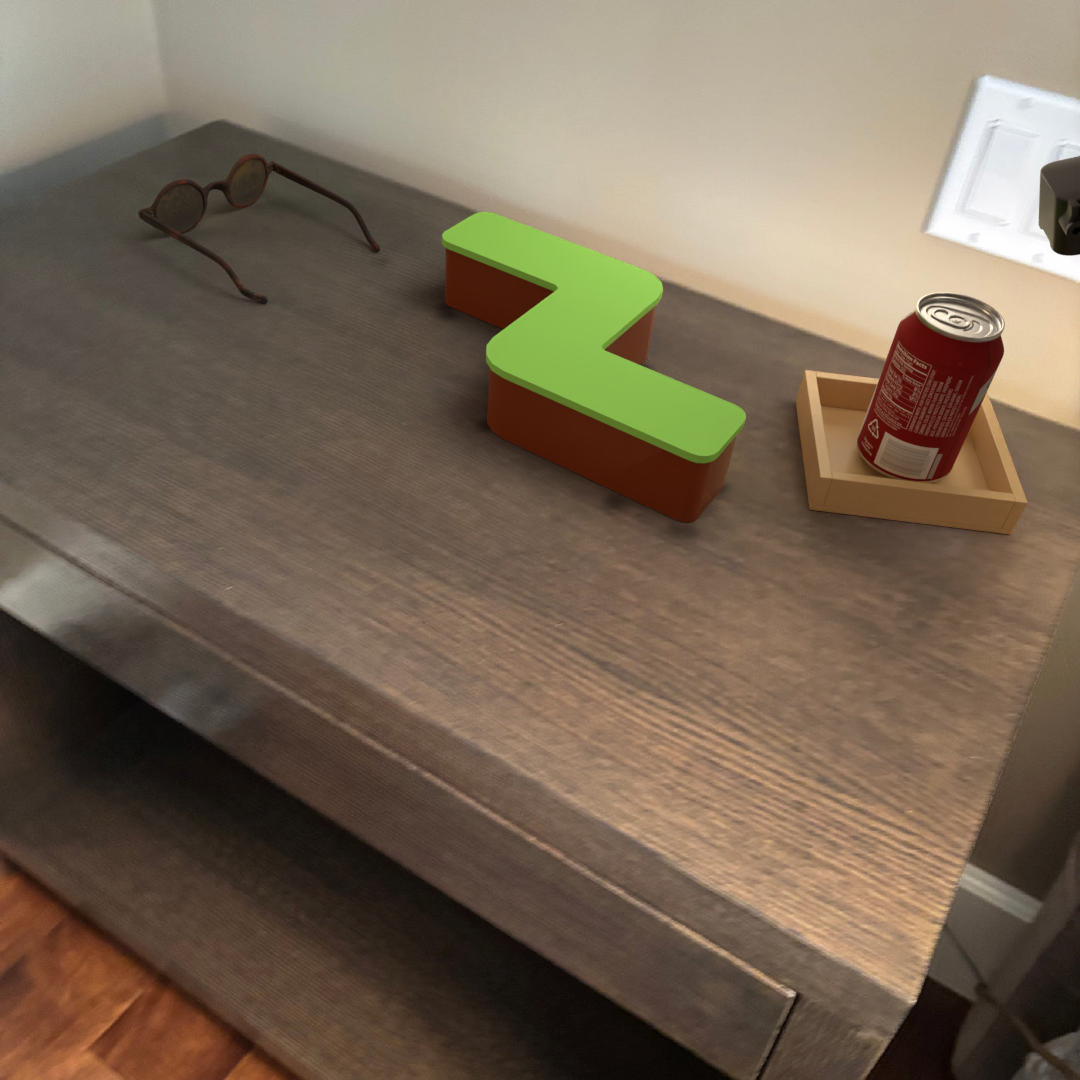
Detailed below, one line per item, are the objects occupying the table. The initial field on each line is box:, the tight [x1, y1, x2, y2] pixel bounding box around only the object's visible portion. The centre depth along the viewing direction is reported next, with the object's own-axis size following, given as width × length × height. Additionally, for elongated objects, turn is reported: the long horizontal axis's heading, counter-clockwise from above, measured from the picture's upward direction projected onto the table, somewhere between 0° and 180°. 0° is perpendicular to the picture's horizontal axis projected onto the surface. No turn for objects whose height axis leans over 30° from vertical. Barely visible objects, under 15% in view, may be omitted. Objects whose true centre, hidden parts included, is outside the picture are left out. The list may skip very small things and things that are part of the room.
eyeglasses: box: [137, 153, 381, 304], centre depth 88 cm, size 15×15×5 cm
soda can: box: [857, 291, 1006, 483], centre depth 69 cm, size 7×7×12 cm
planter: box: [441, 211, 747, 523], centre depth 76 cm, size 30×18×6 cm, turn 57°
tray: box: [795, 369, 1028, 535], centre depth 73 cm, size 14×13×3 cm
